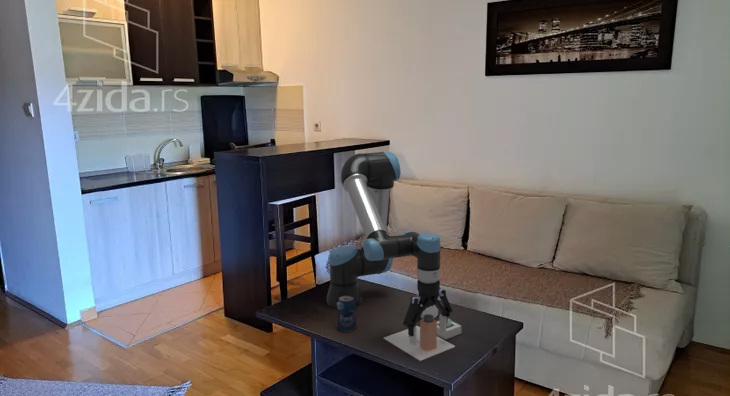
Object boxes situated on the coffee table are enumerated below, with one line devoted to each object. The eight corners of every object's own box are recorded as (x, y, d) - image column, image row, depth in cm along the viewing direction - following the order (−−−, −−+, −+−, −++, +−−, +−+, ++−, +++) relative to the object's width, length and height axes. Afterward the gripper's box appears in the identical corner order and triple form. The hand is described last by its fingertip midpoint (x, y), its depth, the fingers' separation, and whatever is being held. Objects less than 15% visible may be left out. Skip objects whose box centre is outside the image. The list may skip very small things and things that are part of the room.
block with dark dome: (420, 346, 174) (420, 315, 172) (428, 343, 176) (429, 312, 174) (427, 351, 171) (427, 319, 169) (436, 347, 173) (436, 316, 171)
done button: (437, 327, 185) (438, 319, 185) (445, 324, 188) (445, 317, 187) (445, 331, 182) (445, 323, 181) (453, 328, 184) (453, 320, 184)
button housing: (430, 331, 186) (430, 323, 186) (445, 325, 191) (446, 318, 190) (445, 339, 180) (445, 331, 179) (461, 333, 184) (461, 325, 184)
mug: (423, 324, 192) (423, 299, 190) (406, 318, 198) (406, 293, 196) (442, 315, 200) (442, 290, 198) (425, 309, 206) (426, 285, 204)
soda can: (341, 333, 186) (340, 303, 184) (335, 326, 192) (334, 296, 190) (358, 330, 188) (358, 300, 186) (352, 322, 195) (351, 293, 192)
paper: (383, 338, 181) (383, 337, 181) (417, 326, 190) (417, 325, 190) (420, 361, 165) (420, 360, 165) (455, 346, 174) (455, 346, 174)
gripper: (406, 291, 159) (407, 353, 163) (463, 274, 173) (462, 332, 177) (392, 284, 165) (392, 344, 169) (447, 269, 179) (447, 324, 183)
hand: (428, 338), depth 173 cm, fingers open, 13 cm apart
